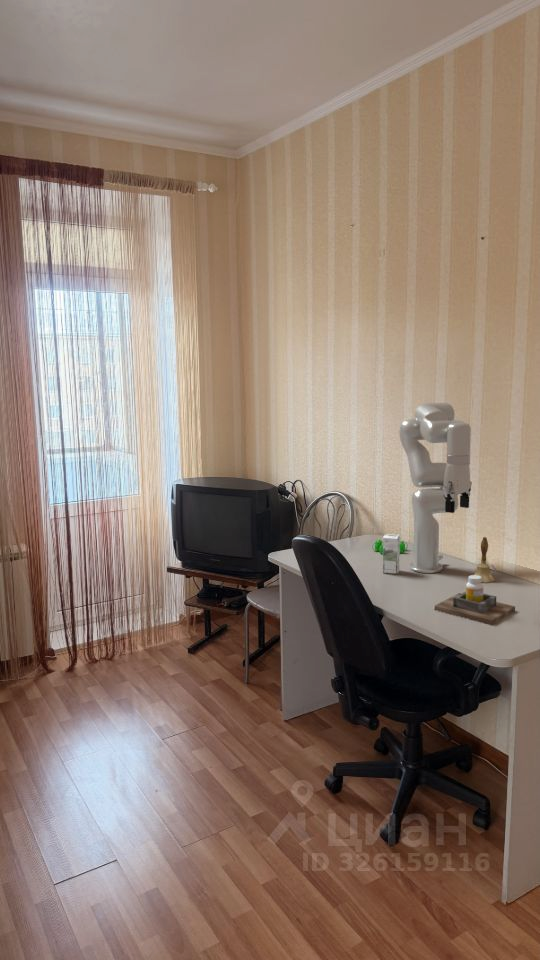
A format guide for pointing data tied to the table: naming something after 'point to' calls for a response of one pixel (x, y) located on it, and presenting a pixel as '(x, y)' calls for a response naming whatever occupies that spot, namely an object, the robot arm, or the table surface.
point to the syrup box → (391, 553)
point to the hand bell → (484, 564)
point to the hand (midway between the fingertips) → (457, 509)
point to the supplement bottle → (474, 589)
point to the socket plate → (476, 608)
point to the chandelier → (380, 546)
